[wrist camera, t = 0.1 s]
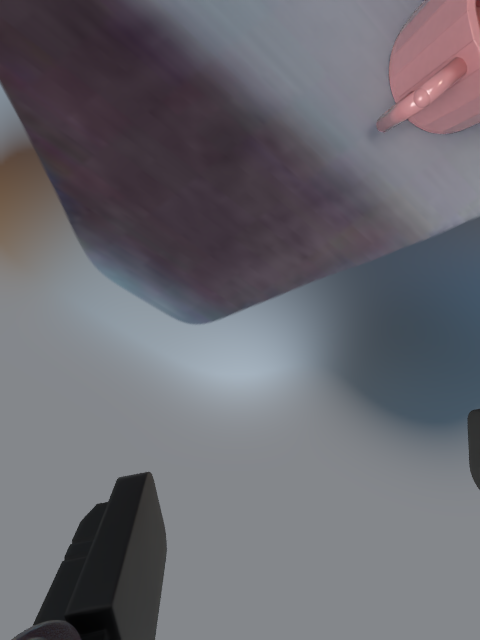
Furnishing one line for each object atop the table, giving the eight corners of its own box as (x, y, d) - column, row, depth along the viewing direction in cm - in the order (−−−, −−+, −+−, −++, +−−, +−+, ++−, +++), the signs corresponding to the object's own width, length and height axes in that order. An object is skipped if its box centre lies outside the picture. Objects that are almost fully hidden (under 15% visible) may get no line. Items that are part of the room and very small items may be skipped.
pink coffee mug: (465, -30, 34) (583, -155, 23) (526, 81, 36) (659, 12, 26) (331, 85, 35) (385, 15, 24) (398, 186, 37) (475, 162, 27)
